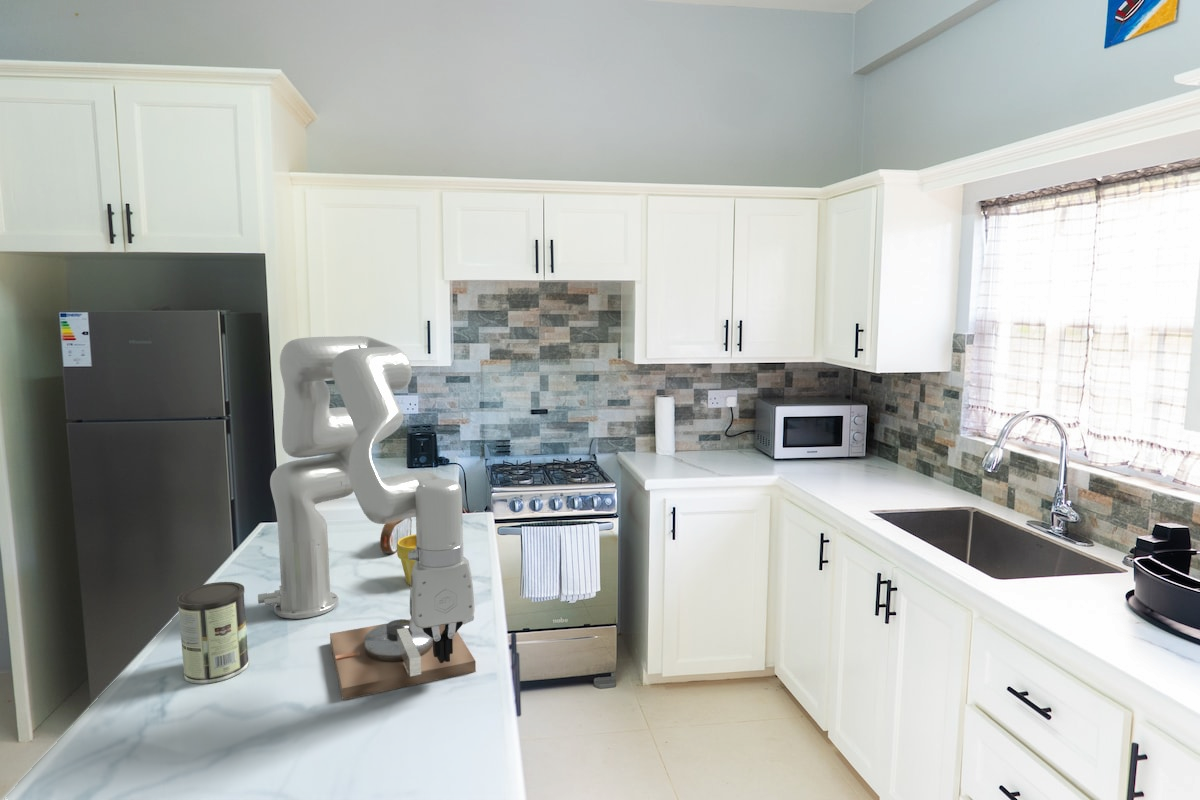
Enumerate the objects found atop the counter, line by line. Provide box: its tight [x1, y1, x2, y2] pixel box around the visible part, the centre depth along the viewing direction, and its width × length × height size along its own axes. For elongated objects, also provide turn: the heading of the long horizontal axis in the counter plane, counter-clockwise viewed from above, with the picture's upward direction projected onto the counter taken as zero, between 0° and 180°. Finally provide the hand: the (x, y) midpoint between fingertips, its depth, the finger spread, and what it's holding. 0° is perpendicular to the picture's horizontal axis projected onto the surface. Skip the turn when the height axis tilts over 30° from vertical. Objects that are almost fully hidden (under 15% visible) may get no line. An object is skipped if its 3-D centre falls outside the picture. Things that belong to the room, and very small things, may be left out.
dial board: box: [329, 618, 477, 701], centre depth 131 cm, size 22×22×2 cm
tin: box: [379, 517, 413, 554], centre depth 191 cm, size 15×3×8 cm, turn 172°
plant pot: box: [396, 534, 417, 586], centre depth 168 cm, size 10×10×10 cm
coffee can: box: [176, 581, 250, 685], centre depth 126 cm, size 10×10×14 cm
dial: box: [365, 619, 433, 676], centre depth 127 cm, size 21×12×4 cm, turn 25°
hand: (443, 658), depth 122 cm, fingers closed
